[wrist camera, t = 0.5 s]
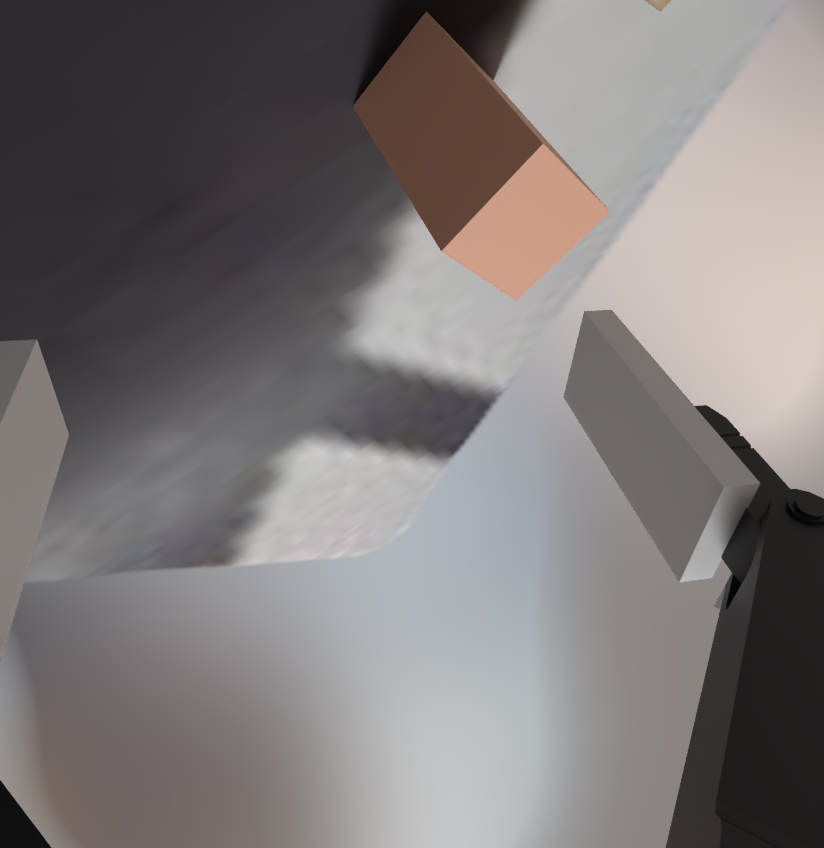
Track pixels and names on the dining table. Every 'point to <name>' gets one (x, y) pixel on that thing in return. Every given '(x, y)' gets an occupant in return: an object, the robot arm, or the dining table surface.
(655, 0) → the plinth
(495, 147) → the block
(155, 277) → the dining table surface
